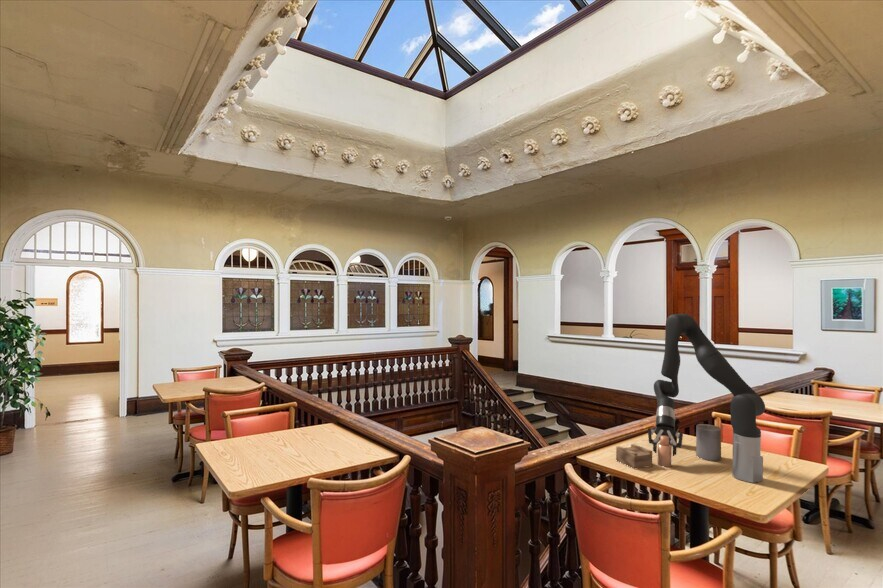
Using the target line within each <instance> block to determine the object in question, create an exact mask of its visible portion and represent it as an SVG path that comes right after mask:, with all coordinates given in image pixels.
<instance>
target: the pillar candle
mask: <svg viewBox="0 0 883 588" xmlns="http://www.w3.org/2000/svg"><path fill="white" fill-rule="evenodd" d="M695 428H696V429H695V430H696V432H695V435H696V436H695V439H696V440H695V441H696V442H695V445H696V446H695V450H696V451H695V453H696V454H695V456H696V457H697V456H698V457H699V459H700V458H702V459H701V460H704V459H706V460H705V461H709V460H711V462H718V460H719V461H722V427H720V426H717V425H713V424H705V423H699V424H696V427H695ZM698 457H697V458H698Z"/></svg>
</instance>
